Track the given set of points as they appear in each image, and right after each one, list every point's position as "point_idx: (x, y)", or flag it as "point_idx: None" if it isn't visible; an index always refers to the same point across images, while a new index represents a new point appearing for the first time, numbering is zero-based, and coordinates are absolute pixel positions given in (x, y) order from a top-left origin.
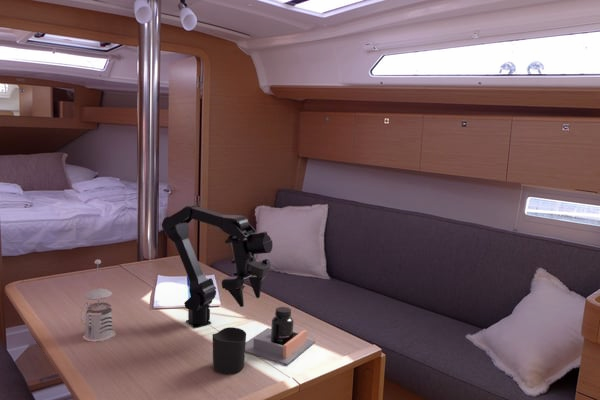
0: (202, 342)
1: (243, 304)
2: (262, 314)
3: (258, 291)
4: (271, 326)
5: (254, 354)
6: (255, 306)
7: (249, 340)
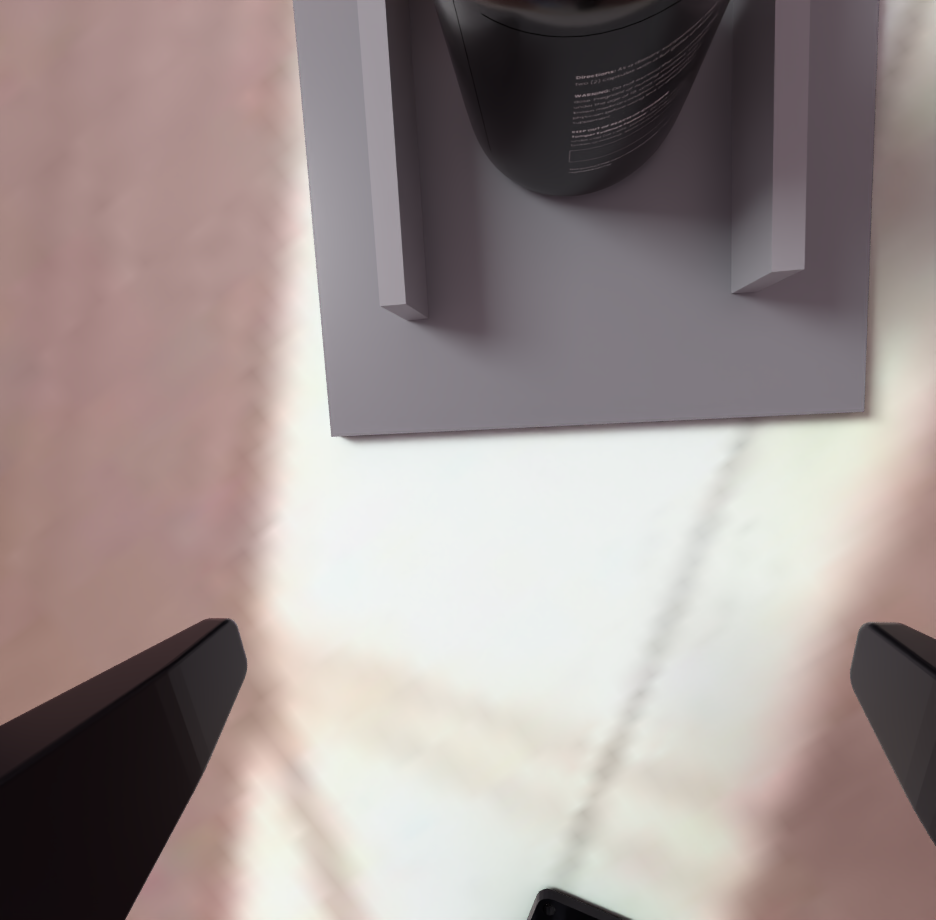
0: None
1: (906, 644)
2: (135, 644)
3: (124, 720)
4: (691, 35)
5: (868, 198)
6: None
7: (648, 415)
